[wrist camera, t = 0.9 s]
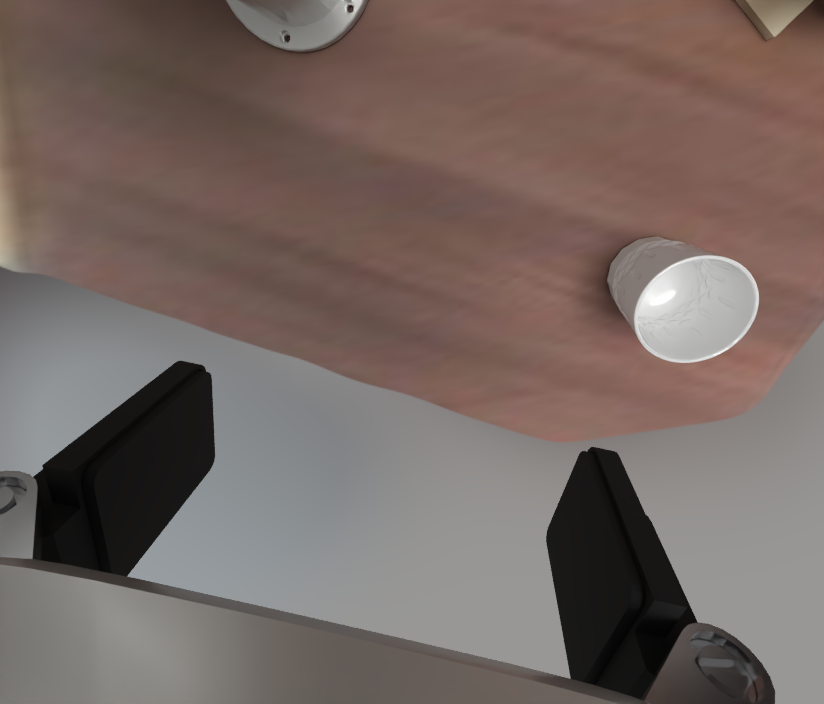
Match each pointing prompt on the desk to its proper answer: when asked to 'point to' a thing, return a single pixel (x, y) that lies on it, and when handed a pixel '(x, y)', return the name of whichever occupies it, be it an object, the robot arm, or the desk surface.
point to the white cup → (682, 298)
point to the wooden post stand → (772, 14)
